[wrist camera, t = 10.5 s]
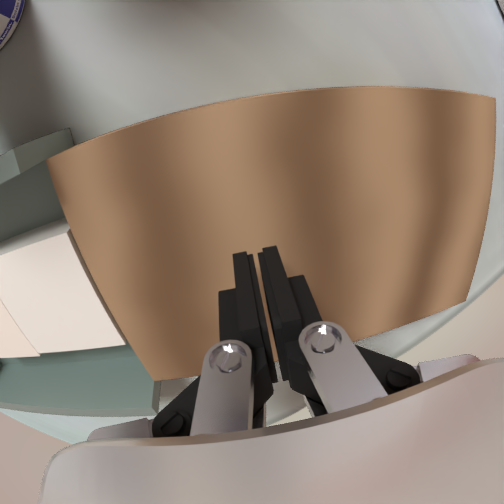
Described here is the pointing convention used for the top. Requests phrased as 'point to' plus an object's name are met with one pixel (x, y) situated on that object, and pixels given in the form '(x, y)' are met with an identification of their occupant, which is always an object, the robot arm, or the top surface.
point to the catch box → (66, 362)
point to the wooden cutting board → (283, 209)
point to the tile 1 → (13, 338)
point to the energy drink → (9, 18)
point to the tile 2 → (54, 292)
